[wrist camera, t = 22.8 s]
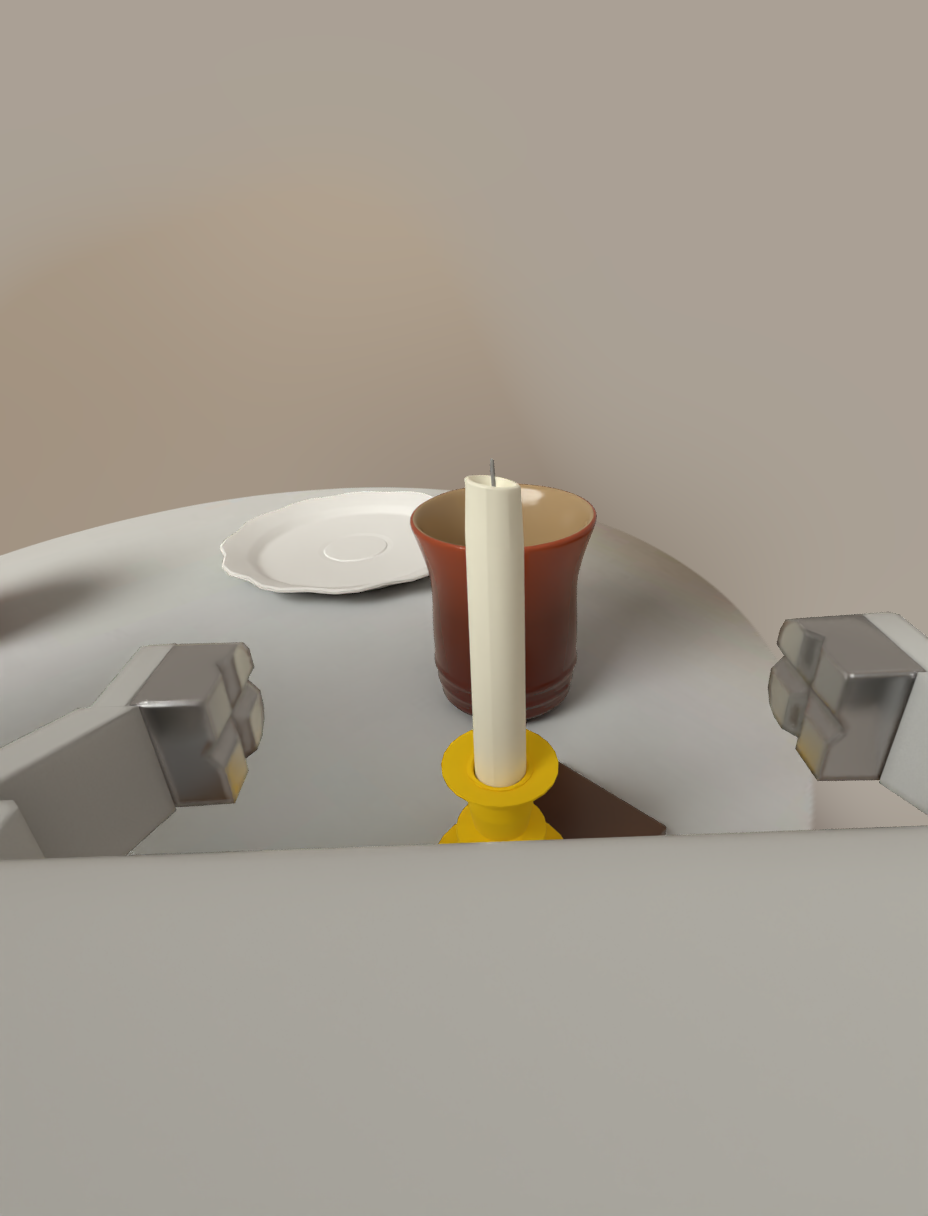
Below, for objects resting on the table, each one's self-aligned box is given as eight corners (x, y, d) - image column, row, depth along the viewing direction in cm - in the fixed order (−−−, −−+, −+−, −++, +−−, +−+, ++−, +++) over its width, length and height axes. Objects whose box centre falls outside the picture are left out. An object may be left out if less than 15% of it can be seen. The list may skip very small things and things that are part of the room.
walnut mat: (445, 1079, 19) (443, 1064, 18) (330, 943, 22) (327, 929, 22) (665, 840, 26) (667, 826, 25) (549, 768, 30) (549, 755, 29)
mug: (613, 726, 32) (628, 534, 27) (440, 756, 31) (423, 561, 26) (540, 613, 42) (542, 460, 37) (409, 631, 41) (393, 476, 36)
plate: (495, 507, 60) (495, 490, 59) (459, 617, 42) (457, 594, 41) (287, 505, 64) (284, 489, 63) (172, 606, 46) (165, 585, 45)
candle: (523, 800, 27) (521, 424, 19) (603, 893, 23) (641, 463, 15) (410, 851, 25) (358, 453, 17) (475, 964, 21) (446, 508, 13)
